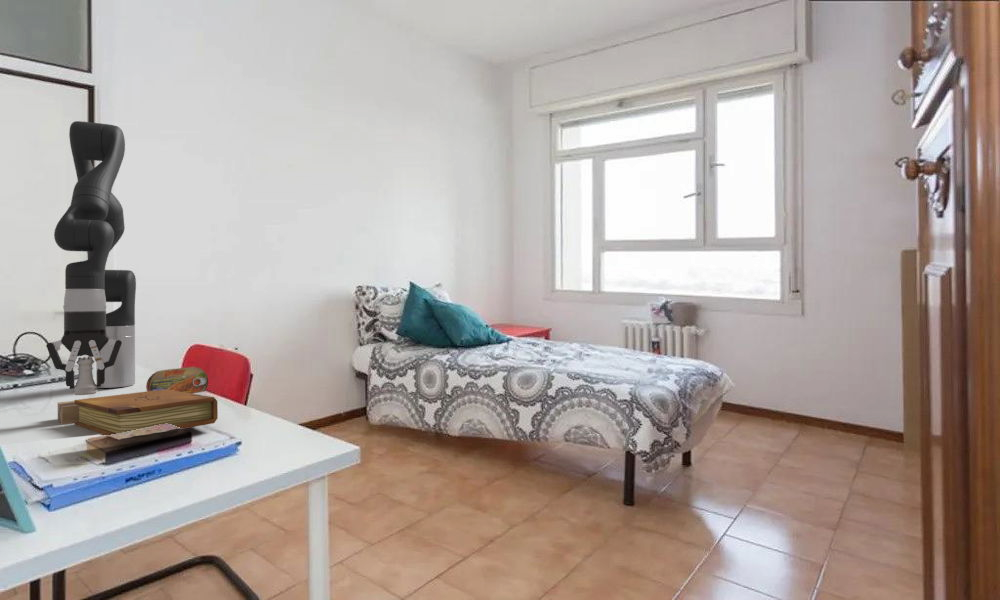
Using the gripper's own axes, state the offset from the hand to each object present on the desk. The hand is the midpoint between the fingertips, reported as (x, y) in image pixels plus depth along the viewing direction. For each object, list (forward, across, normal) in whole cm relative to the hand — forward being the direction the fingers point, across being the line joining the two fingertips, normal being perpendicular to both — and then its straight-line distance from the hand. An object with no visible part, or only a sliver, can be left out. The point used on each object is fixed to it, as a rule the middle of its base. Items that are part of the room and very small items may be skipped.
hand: (85, 386), depth 125 cm
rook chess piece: (+2, 0, 0) cm, 2 cm away
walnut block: (+7, +1, -1) cm, 8 cm away
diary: (+8, -11, +13) cm, 19 cm away
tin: (+7, -19, -19) cm, 28 cm away
